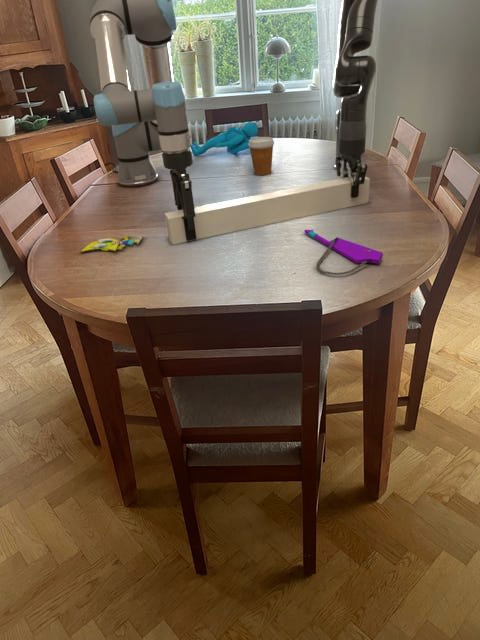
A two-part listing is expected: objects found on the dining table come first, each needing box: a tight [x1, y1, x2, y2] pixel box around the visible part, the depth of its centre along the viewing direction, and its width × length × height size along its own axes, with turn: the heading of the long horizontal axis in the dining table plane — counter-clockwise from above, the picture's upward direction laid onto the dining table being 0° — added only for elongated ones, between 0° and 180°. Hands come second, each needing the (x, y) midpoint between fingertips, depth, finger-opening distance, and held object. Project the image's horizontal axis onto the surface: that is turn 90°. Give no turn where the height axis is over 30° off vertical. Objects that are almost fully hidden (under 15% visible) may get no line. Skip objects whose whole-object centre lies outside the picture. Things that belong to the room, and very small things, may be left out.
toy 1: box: [80, 235, 144, 254], centre depth 133 cm, size 10×1×15 cm
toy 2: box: [190, 121, 259, 157], centre depth 206 cm, size 17×11×30 cm
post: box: [164, 176, 371, 246], centre depth 138 cm, size 61×5×8 cm, turn 110°
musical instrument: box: [304, 229, 384, 276], centre depth 117 cm, size 24×2×20 cm
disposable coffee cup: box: [248, 136, 275, 176], centre depth 177 cm, size 10×10×12 cm
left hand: (188, 235), depth 134 cm, fingers closed on post, 5 cm apart
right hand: (349, 194), depth 145 cm, fingers closed on post, 5 cm apart
